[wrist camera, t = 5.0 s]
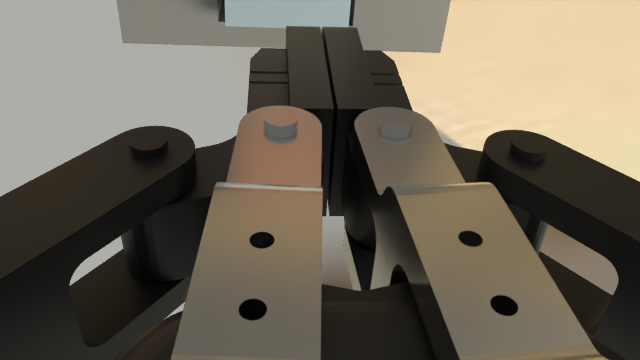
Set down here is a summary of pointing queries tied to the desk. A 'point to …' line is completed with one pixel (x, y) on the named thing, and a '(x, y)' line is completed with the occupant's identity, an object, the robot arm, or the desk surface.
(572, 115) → the desk surface
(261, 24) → the blue-grey block
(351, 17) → the key console
